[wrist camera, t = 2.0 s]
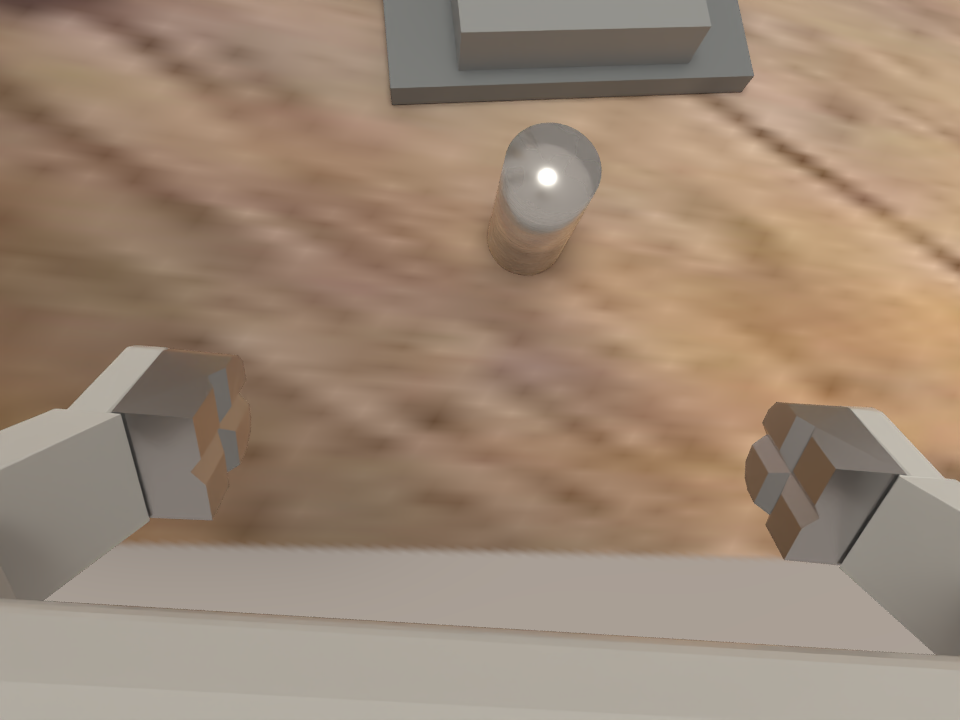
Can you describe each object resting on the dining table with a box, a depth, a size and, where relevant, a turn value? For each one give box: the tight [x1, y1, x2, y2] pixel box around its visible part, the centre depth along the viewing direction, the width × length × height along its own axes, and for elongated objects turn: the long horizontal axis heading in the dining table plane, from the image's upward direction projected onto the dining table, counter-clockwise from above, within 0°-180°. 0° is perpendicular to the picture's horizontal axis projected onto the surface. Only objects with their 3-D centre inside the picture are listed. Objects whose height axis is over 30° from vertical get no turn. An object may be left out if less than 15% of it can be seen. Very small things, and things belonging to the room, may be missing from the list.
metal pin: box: [487, 123, 601, 275], centre depth 31 cm, size 4×4×8 cm
